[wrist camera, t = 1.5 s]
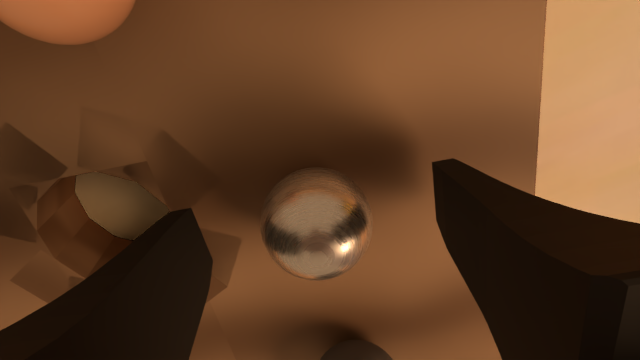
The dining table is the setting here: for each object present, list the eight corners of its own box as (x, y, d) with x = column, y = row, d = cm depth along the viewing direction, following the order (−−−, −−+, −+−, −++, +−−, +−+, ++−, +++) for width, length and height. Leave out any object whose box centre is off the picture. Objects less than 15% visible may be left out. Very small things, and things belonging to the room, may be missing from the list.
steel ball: (371, 226, 14) (388, 295, 11) (279, 243, 14) (272, 314, 11) (357, 139, 12) (372, 194, 9) (253, 160, 12) (238, 218, 10)
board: (500, 317, 20) (524, 363, 17) (105, 381, 21) (81, 431, 19) (509, -249, 10) (565, -306, 8) (-211, -66, 11) (-335, -72, 9)
